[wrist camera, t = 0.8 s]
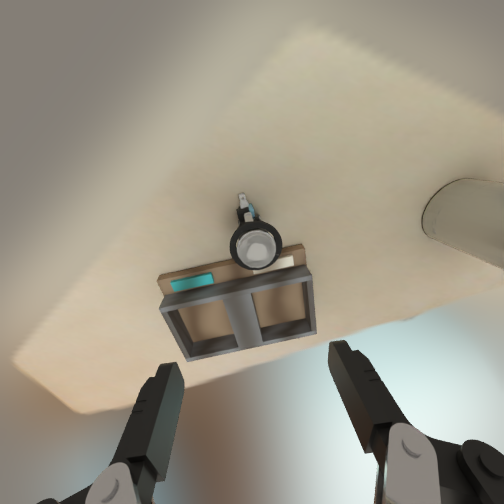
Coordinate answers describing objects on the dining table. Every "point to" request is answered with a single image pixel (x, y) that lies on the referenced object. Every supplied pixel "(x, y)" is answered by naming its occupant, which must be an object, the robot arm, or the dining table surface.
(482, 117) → the dining table surface
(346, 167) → the dining table surface
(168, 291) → the dock
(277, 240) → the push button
